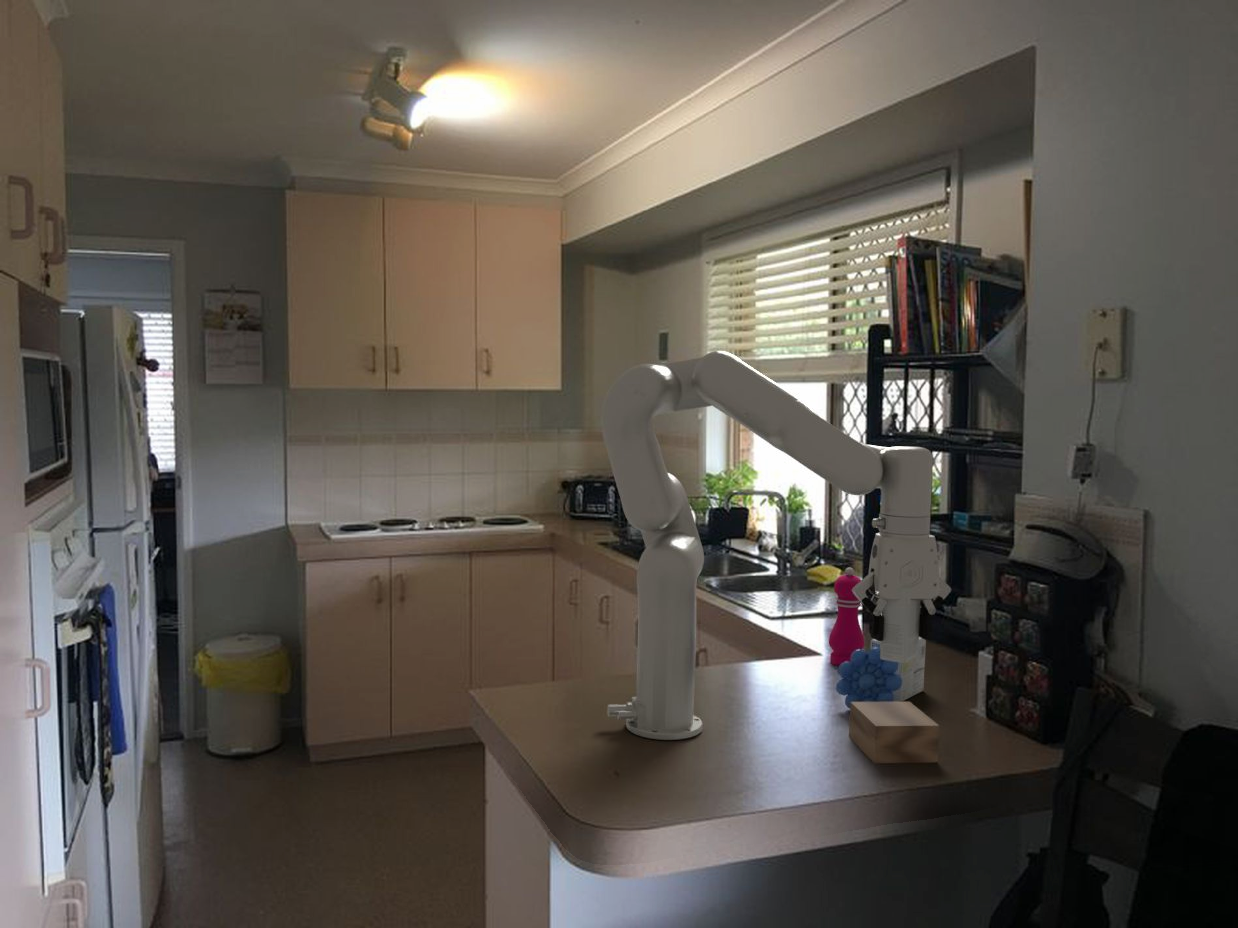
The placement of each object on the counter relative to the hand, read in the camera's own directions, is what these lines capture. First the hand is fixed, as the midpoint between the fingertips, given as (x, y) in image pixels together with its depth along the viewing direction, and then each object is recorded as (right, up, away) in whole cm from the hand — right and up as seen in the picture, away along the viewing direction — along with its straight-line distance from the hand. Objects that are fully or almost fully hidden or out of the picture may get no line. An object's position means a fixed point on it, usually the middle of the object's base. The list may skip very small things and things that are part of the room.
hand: (899, 637), depth 163 cm
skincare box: (0, -3, 0) cm, 3 cm away
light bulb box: (+8, -16, +32) cm, 36 cm away
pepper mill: (+3, -14, +52) cm, 54 cm away
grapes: (0, -17, +20) cm, 26 cm away
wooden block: (-1, -18, +2) cm, 18 cm away
